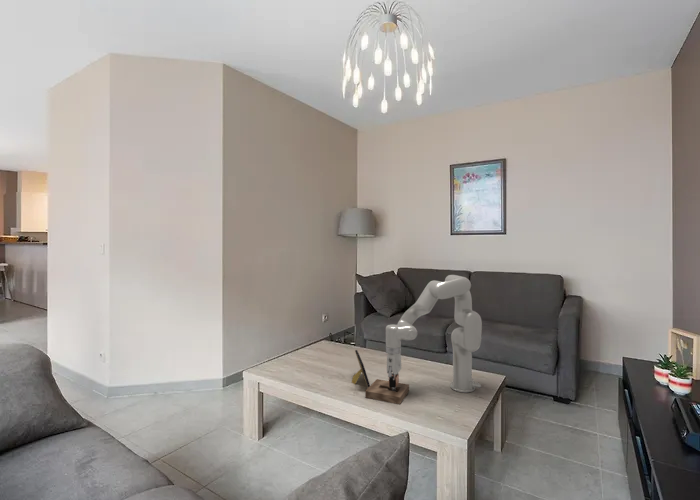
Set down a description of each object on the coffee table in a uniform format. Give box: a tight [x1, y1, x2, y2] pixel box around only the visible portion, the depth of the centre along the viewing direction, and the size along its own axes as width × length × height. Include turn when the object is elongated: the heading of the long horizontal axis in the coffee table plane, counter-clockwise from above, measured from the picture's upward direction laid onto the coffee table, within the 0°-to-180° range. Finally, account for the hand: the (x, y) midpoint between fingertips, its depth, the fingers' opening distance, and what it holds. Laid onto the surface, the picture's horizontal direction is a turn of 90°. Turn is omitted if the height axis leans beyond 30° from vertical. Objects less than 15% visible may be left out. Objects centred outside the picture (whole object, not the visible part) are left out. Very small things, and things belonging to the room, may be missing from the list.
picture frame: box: [351, 349, 371, 389], centre depth 194 cm, size 23×9×15 cm, turn 7°
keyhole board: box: [364, 378, 410, 405], centre depth 179 cm, size 18×16×4 cm
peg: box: [391, 374, 400, 392], centre depth 177 cm, size 4×4×10 cm
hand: (393, 385), depth 177 cm, fingers closed on peg, 4 cm apart
